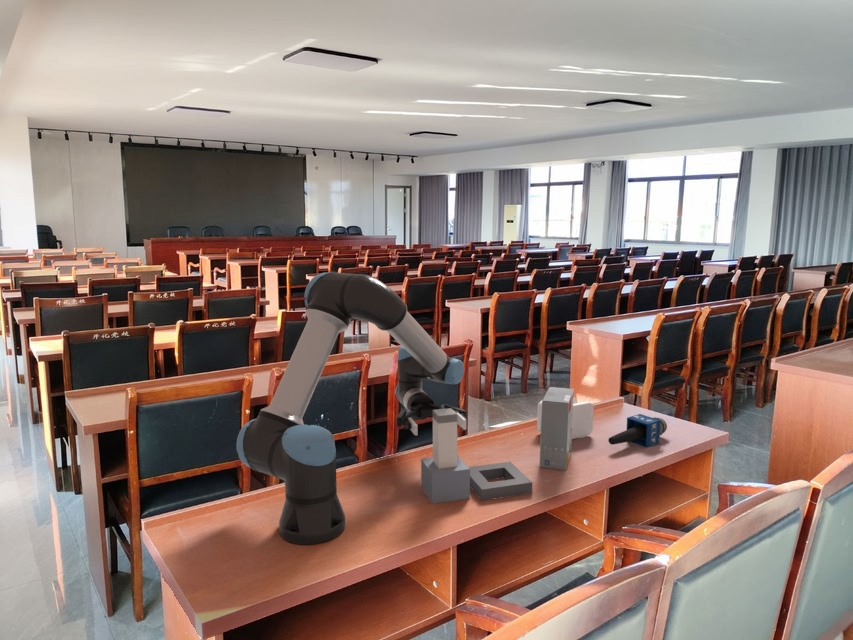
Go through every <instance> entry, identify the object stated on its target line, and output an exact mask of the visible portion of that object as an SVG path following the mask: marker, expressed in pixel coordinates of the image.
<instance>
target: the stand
mask: <svg viewBox="0 0 853 640" xmlns="http://www.w3.org/2000/svg"><path fill="white" fill-rule="evenodd" d="M420 459H421V461H420V468H421V469H420V470H421V471H420V472H421V473H420V474H421V475H420V476H421V479H420V480H421V488H422V491H423V492H424V493H425V495H426V496H427V498H428V499H429V502H431V504H432V505H436V504H441V503H447V502H448V503H449V502H455V501H461V500H469V498H471V487H470V469H469V467H470V466H468V465H467V464H466V463H465V462H464V461H463V459H462V458H461V457H460V456H459V455H458V454H457V466H456V467H449V468H441V469H438V467H437V466H436V465H435V463H434V462H433V456H431V457H424V458H420Z"/></svg>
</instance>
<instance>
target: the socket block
mask: <svg viewBox="0 0 853 640" xmlns="http://www.w3.org/2000/svg"><path fill="white" fill-rule="evenodd" d="M468 467H469V469H470V489H472V491H473V492H474V493H475V494H476V496H479V497H478V498H479V499H480V500H481V501H482V500H483V501H487V500H488V499H489V500H494V498H496V499H502V498H501V497H503V498H508V496H509V497H515V496H521V495H522V496H523V495H528V494H529V493H530V494H533V481H532V480H531V479H530V478H529V477H527V475H525V474H524V473H523V472H522V471H521V470H520V469H519V468H518V467H517V466H515V464H514V463H512V461H505V462H497V463H489V464H488V463H487V464H481V465H473V466H468ZM497 478H499V479H502V480H498V479H497ZM489 479H492V480H496V481H491V482H489V481H490V480H489ZM503 479H504V480H503ZM489 500H488V501H489Z"/></svg>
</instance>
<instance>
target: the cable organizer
mask: <svg viewBox="0 0 853 640" xmlns="http://www.w3.org/2000/svg"><path fill="white" fill-rule="evenodd" d="M536 411H537V414H536V415H537V416H536V417H537V418H536V429H537V431H538V432H539V433H541V416H542V400H540V401H539V402H538V403H537V410H536ZM593 428H594V404H593V403H591V402H589V401H583V402H578V400H577V398H576V397H574V396H573V419H572V440H575V439H584V438H587V437H588V436H590V435H591V434H592V433H593V431H594V429H593Z"/></svg>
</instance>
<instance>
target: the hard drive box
mask: <svg viewBox="0 0 853 640" xmlns="http://www.w3.org/2000/svg"><path fill="white" fill-rule="evenodd" d="M574 391H575V389H574V388H565V387H555V386H549V387H548V389H547V391H546V392H545V394H544V396H543V399H542V400H541V401H542V416H541V432H540V442H539V463H538V465H539V467H541V468H545V469H554V470H560V471H561V470H563V471H566V469H567V467H568V463H569V460H570V457H571V453H572V444H573V443H572V442H573V441H572V440H573V439H572V419H573V397H574V393H575V392H574Z"/></svg>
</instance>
